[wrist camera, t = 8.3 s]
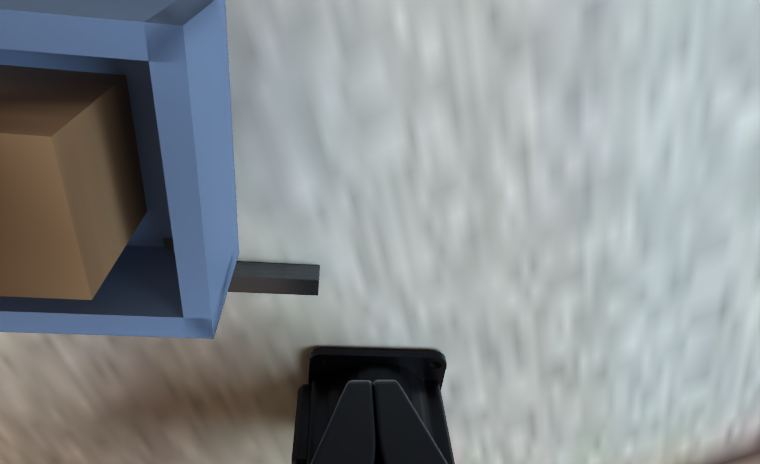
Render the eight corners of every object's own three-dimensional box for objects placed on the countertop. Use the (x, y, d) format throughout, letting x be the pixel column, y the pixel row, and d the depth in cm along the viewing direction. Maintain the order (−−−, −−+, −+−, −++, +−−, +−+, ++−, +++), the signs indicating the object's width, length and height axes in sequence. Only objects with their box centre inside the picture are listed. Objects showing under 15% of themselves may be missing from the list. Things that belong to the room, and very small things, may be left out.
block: (125, 75, 15) (51, 136, 11) (147, 211, 17) (91, 300, 13) (-45, 60, 14) (-185, 120, 11) (2, 202, 17) (-99, 292, 13)
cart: (233, -15, 16) (183, 25, 11) (244, 234, 21) (213, 338, 16) (-128, -51, 15) (-359, -24, 10) (-27, 219, 20) (-149, 327, 15)
